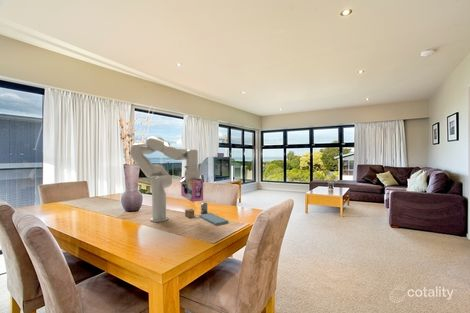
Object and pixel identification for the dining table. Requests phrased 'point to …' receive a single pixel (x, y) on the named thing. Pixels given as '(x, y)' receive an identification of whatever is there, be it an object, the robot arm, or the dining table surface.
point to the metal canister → (203, 208)
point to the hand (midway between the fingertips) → (191, 192)
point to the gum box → (193, 190)
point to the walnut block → (189, 213)
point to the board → (213, 219)
